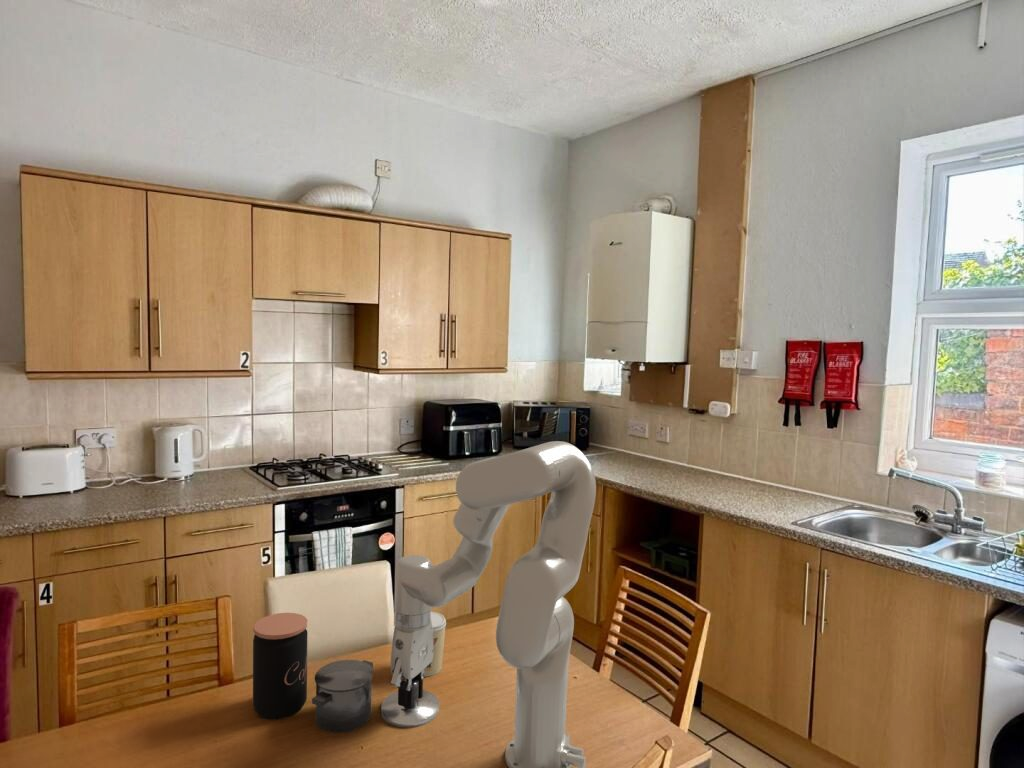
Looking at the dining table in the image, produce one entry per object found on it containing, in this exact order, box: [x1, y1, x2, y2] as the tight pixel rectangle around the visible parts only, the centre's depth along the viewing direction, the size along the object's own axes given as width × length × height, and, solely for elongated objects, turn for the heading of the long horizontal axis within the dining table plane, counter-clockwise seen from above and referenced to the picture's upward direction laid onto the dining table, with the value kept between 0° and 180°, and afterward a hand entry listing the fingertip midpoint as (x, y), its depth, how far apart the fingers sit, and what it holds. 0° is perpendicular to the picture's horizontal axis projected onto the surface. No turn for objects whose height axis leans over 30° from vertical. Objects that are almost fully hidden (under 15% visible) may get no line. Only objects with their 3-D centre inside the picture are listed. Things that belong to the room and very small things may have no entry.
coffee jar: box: [252, 612, 308, 721], centre depth 134 cm, size 11×11×18 cm
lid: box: [380, 678, 440, 728], centre depth 134 cm, size 12×12×6 cm
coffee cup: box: [424, 611, 447, 678], centre depth 151 cm, size 9×9×12 cm
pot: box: [311, 659, 374, 734], centre depth 131 cm, size 12×17×9 cm
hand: (410, 700), depth 134 cm, fingers closed on lid, 3 cm apart
